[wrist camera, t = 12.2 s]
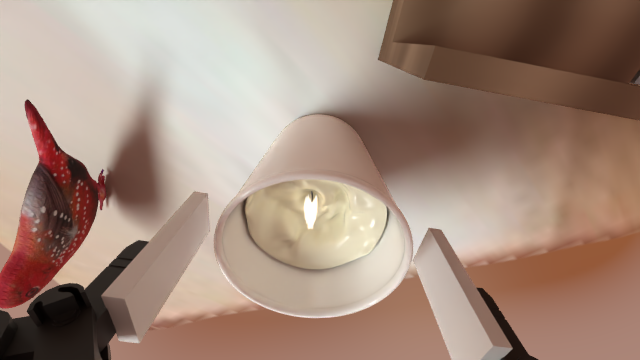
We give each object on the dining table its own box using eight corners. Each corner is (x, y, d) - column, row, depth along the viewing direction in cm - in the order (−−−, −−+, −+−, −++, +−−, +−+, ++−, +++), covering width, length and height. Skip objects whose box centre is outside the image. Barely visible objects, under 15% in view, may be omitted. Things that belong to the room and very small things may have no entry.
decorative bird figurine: (90, 230, 28) (-18, 318, 19) (87, 74, 20) (-103, 104, 11) (117, 238, 28) (25, 327, 20) (126, 90, 20) (-26, 131, 11)
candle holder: (243, 160, 23) (176, 262, 13) (315, 77, 19) (303, 124, 9) (321, 218, 26) (318, 338, 16) (395, 156, 22) (455, 259, 12)
